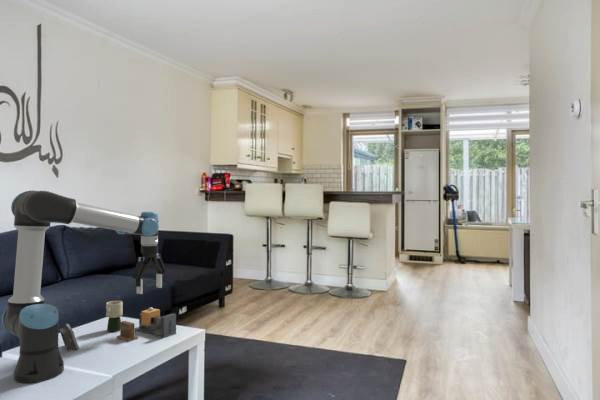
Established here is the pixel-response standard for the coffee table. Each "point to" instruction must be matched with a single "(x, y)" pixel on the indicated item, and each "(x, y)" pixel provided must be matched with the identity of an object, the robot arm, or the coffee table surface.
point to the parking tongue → (127, 331)
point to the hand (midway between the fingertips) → (149, 290)
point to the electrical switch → (69, 337)
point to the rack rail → (159, 326)
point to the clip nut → (149, 315)
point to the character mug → (114, 314)
